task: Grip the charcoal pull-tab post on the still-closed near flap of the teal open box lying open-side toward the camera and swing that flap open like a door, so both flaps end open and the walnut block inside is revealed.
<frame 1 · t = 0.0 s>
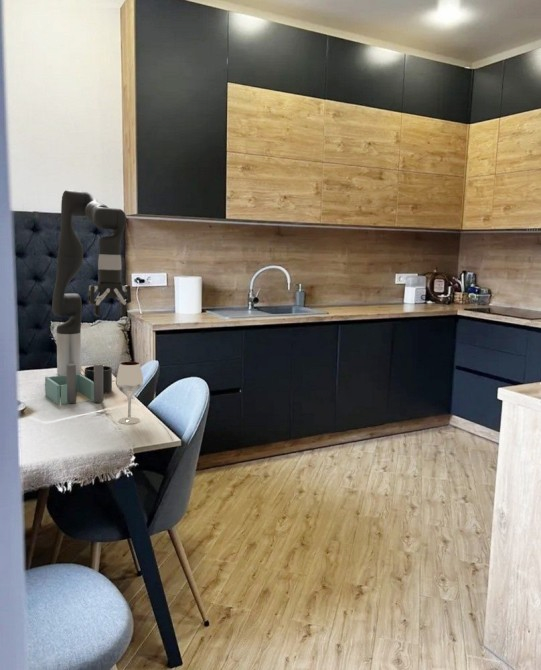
hand: (109, 315, 190), 29 cm above the table, fingers open, 8 cm apart
mug: (98, 392, 203), on the table
flap far: (96, 383, 186), point 7 cm above the table, hinge at 110.0°
flap near: (68, 384, 183), point 7 cm above the table, hinge at 0.0°
teal open box: (69, 399, 191), on the table
wineglass: (129, 421, 170), on the table
walnut block: (68, 396, 192), point 1 cm above the table, touching teal open box
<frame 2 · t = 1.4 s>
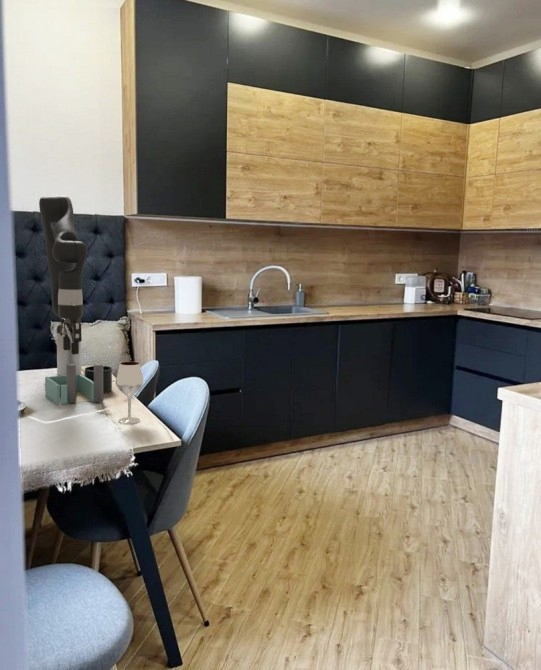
hand: (70, 352, 182), 18 cm above the table, fingers open, 8 cm apart
nothing on the table moved.
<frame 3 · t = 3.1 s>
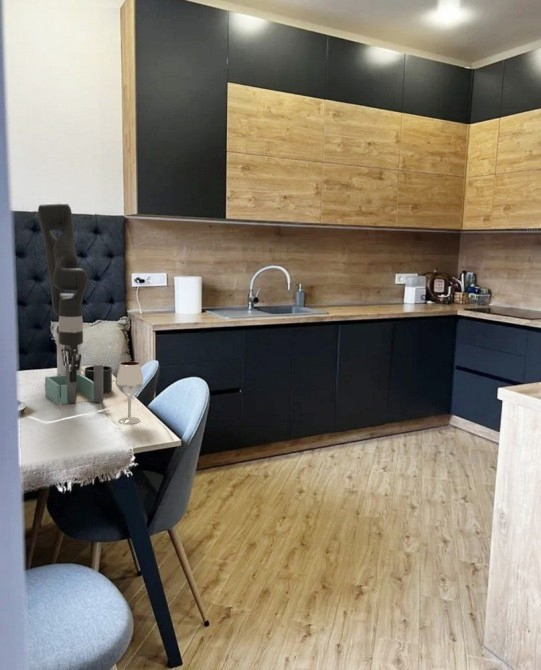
hand: (71, 380, 184), 8 cm above the table, fingers closed on flap near, 3 cm apart
flap near: (68, 384, 183), point 7 cm above the table, hinge at -0.2°, touching gripper
everything else where it was.
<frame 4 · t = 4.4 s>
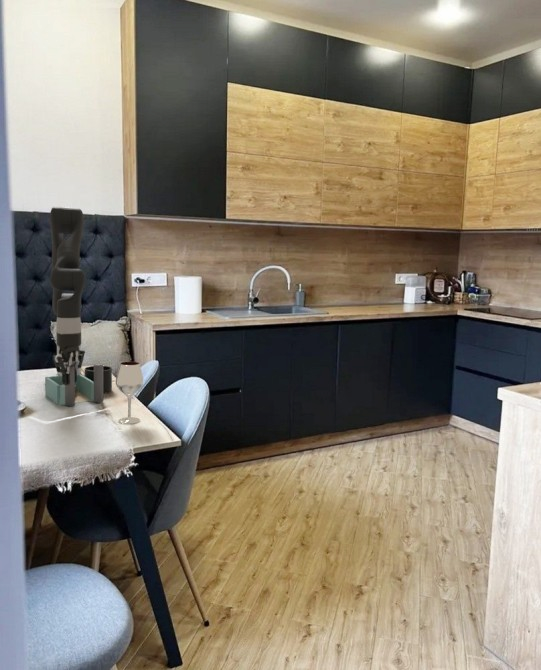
hand: (69, 383, 180), 8 cm above the table, fingers closed on flap near, 3 cm apart
flap near: (67, 385, 181), point 7 cm above the table, hinge at 52.2°, touching gripper
everything else where it was.
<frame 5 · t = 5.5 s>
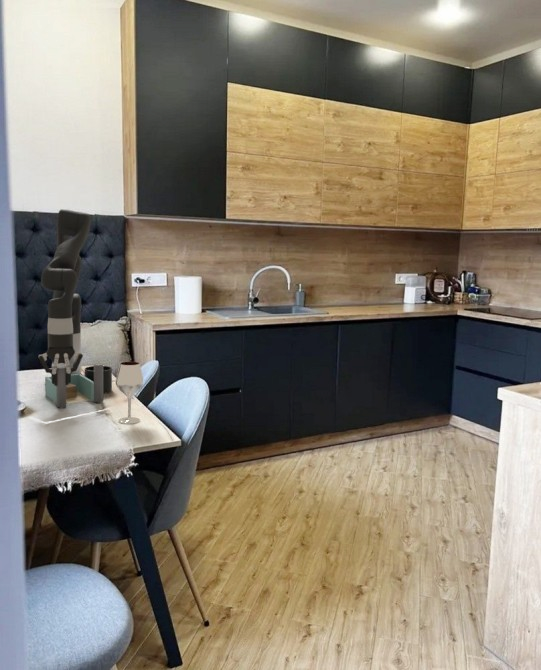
hand: (61, 384, 178), 8 cm above the table, fingers closed on flap near, 3 cm apart
flap near: (60, 387, 179), point 7 cm above the table, hinge at 98.8°, touching gripper
everything else where it was.
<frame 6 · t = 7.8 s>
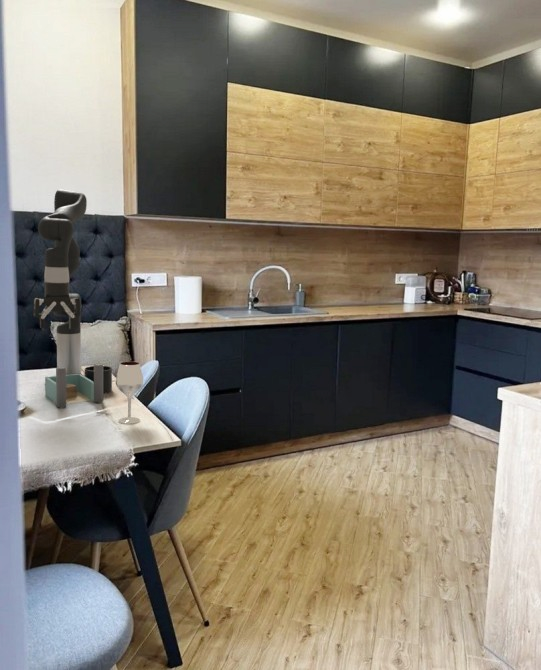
hand: (57, 329, 184), 25 cm above the table, fingers open, 8 cm apart
flap near: (60, 387, 179), point 7 cm above the table, hinge at 98.9°
everything else where it was.
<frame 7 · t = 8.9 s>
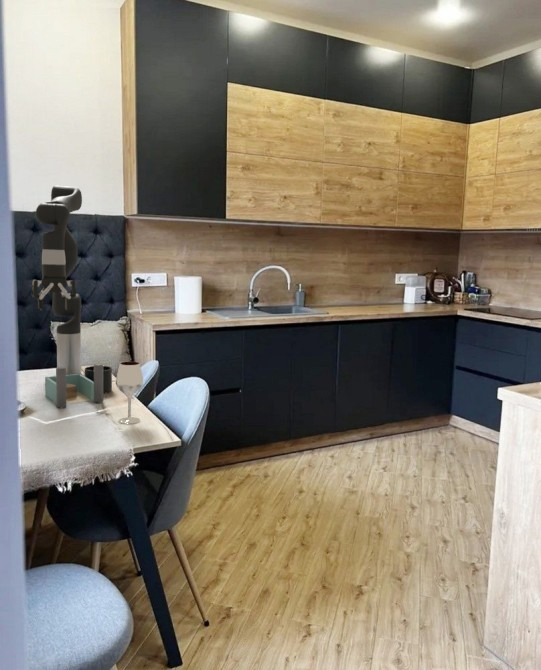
hand: (54, 309, 193), 30 cm above the table, fingers open, 8 cm apart
nothing on the table moved.
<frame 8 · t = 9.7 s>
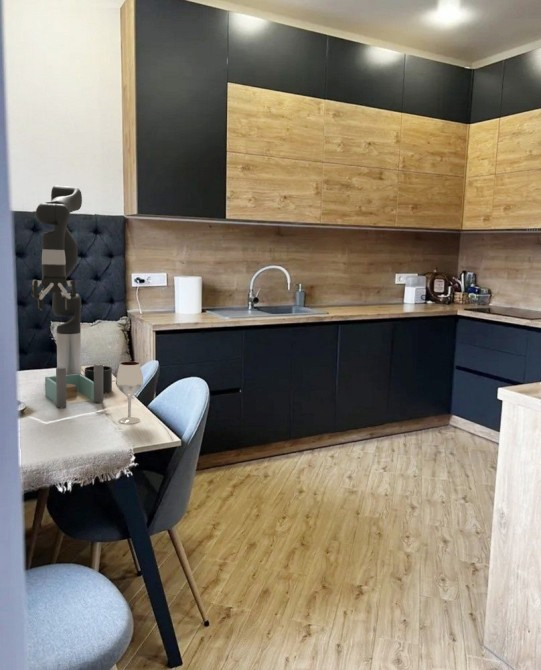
hand: (54, 309, 193), 30 cm above the table, fingers open, 8 cm apart
nothing on the table moved.
at the end: flap near at +99° (first picture: +0°); flap far at +110° (first picture: +110°); the gripper is holding nothing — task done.
